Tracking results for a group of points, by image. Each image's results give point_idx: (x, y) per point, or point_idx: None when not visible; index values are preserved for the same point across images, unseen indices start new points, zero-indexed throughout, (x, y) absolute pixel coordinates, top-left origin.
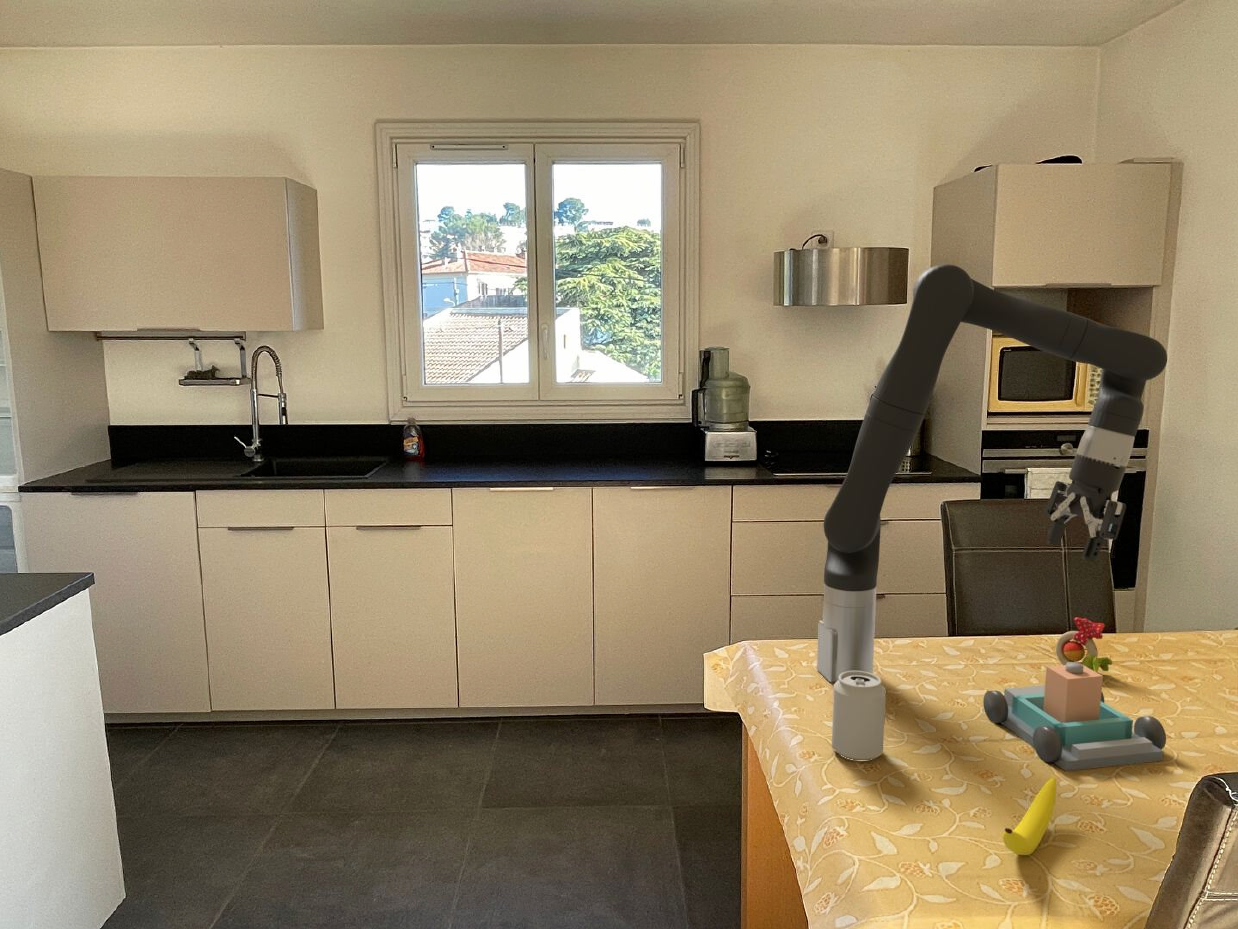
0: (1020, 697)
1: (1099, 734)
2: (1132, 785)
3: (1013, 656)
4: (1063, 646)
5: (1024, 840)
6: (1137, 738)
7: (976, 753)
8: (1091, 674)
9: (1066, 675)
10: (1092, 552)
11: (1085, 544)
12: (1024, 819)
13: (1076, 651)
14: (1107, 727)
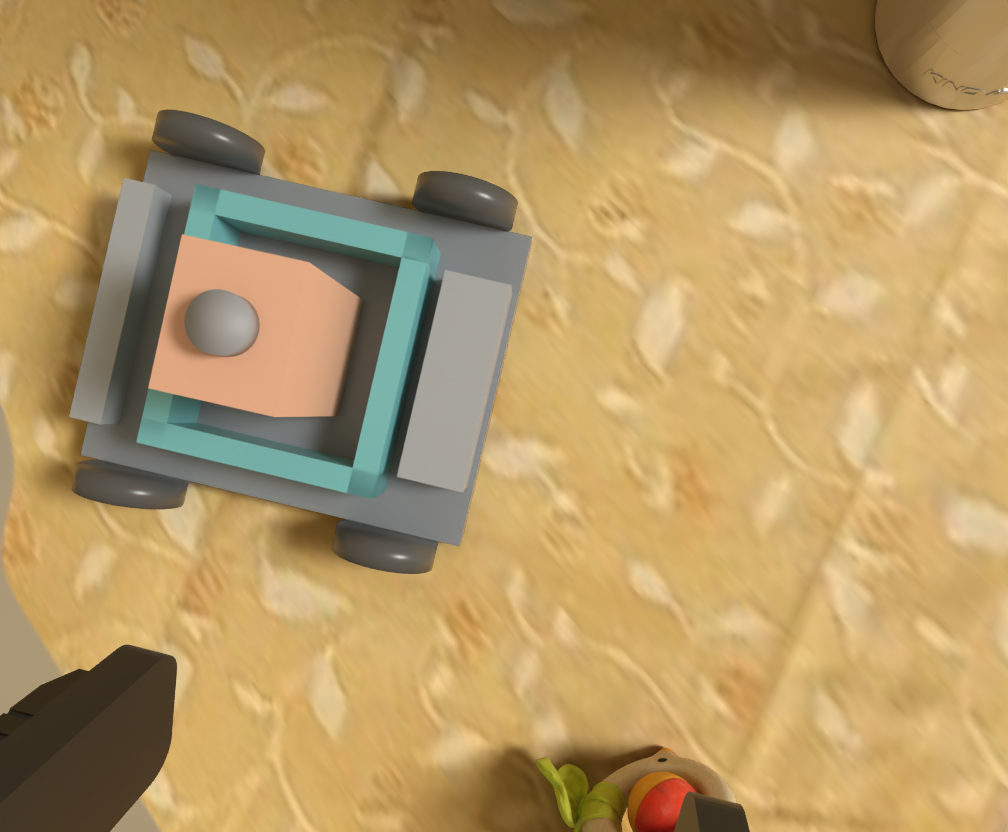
0: (412, 251)
1: None
2: (44, 260)
3: (842, 694)
4: None
5: None
6: (102, 397)
7: (339, 15)
8: (177, 360)
9: (210, 260)
10: (15, 714)
11: (61, 746)
12: None
13: (640, 797)
14: None
